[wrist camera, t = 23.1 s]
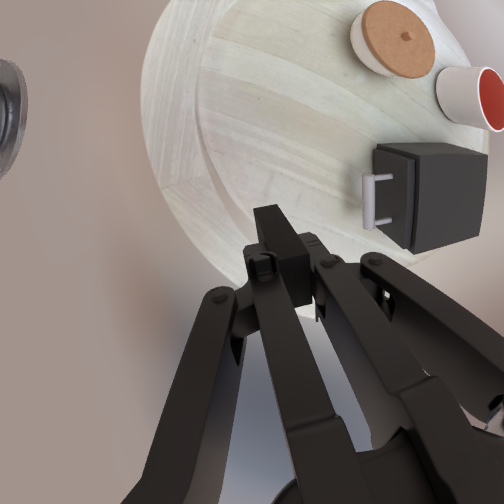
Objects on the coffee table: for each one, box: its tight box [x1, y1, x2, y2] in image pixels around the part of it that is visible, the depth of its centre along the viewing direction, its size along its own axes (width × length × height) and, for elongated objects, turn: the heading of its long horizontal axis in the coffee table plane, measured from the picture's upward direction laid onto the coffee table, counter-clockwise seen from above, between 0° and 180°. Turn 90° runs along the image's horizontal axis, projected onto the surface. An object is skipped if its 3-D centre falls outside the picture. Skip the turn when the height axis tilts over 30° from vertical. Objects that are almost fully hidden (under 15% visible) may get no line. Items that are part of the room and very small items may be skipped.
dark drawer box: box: [377, 143, 488, 255], centre depth 32 cm, size 15×13×10 cm
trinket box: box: [350, 1, 435, 78], centre depth 22 cm, size 11×11×9 cm
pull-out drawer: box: [362, 149, 416, 249], centre depth 32 cm, size 18×12×8 cm, turn 99°
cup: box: [436, 67, 504, 132], centre depth 25 cm, size 10×10×10 cm
